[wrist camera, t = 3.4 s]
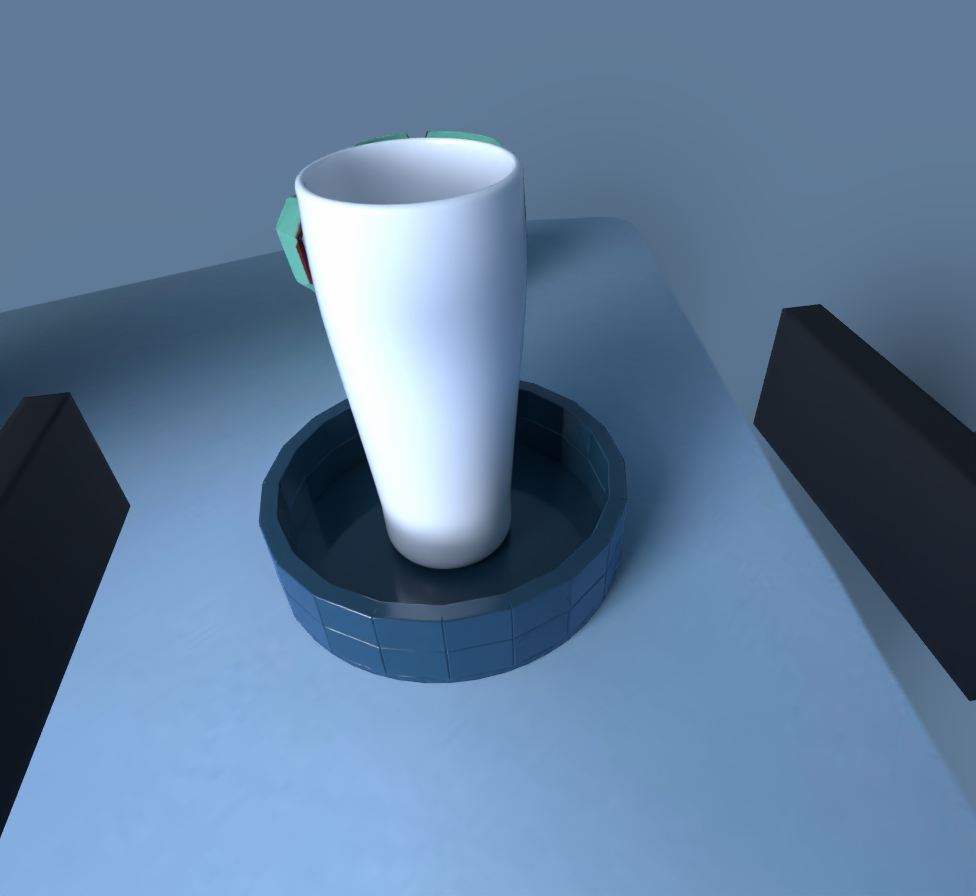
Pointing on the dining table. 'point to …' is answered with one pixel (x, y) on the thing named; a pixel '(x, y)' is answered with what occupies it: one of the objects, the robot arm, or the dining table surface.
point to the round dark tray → (448, 592)
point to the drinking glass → (426, 328)
